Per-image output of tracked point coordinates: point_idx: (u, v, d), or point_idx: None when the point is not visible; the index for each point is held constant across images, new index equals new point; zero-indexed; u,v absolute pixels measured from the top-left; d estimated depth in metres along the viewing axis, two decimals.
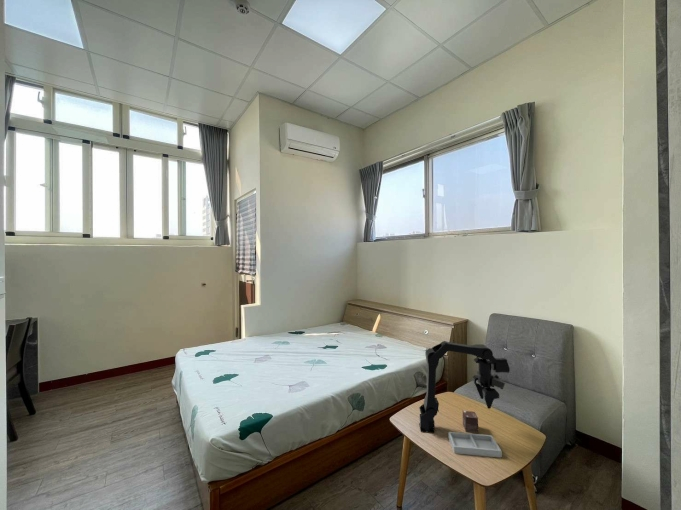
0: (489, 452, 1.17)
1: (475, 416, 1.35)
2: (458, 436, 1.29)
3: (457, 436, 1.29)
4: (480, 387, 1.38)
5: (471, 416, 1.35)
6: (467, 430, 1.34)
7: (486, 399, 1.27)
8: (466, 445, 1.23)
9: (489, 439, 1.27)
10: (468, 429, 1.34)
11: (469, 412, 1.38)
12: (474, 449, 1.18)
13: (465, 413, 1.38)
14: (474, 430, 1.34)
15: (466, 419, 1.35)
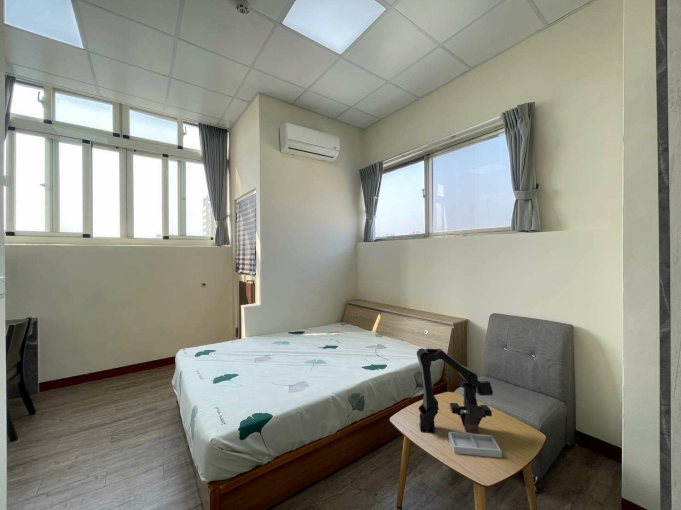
0: (489, 452, 1.17)
1: None
2: (458, 436, 1.29)
3: (457, 436, 1.29)
4: None
5: None
6: (467, 430, 1.34)
7: None
8: (466, 445, 1.23)
9: (489, 439, 1.27)
10: (468, 429, 1.34)
11: None
12: (474, 449, 1.18)
13: (465, 413, 1.38)
14: (475, 430, 1.34)
15: (466, 419, 1.34)
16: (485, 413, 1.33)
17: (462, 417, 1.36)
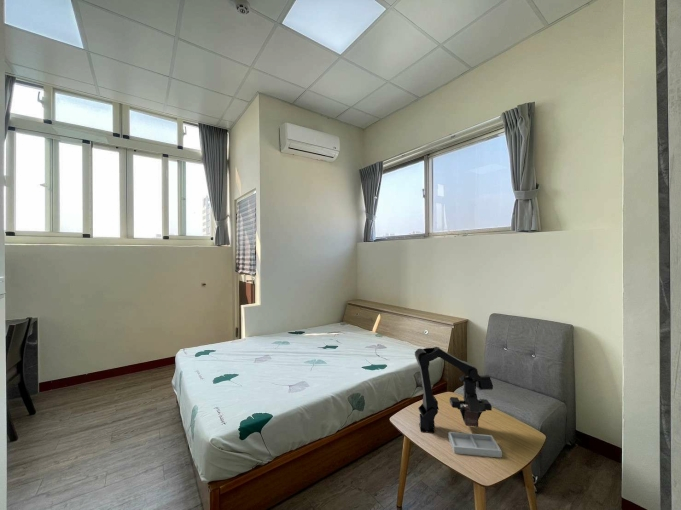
0: (489, 452, 1.17)
1: None
2: (458, 436, 1.29)
3: (457, 436, 1.29)
4: None
5: None
6: (467, 424, 1.34)
7: None
8: (466, 445, 1.23)
9: (489, 439, 1.27)
10: (468, 423, 1.34)
11: None
12: (474, 449, 1.18)
13: (465, 407, 1.38)
14: (474, 424, 1.34)
15: (466, 413, 1.35)
16: (485, 407, 1.33)
17: (462, 411, 1.36)
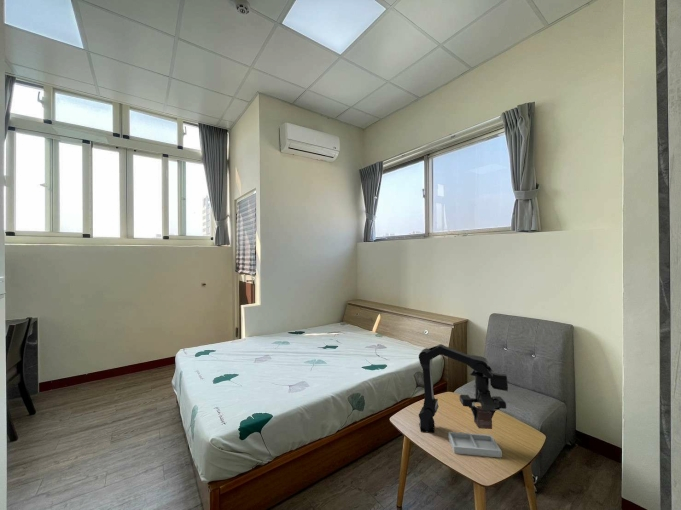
0: (489, 452, 1.17)
1: (488, 411, 1.23)
2: (458, 436, 1.29)
3: (457, 436, 1.29)
4: None
5: (484, 411, 1.23)
6: (480, 427, 1.22)
7: None
8: (466, 445, 1.23)
9: (489, 439, 1.27)
10: (481, 426, 1.22)
11: (480, 407, 1.26)
12: (474, 449, 1.18)
13: (477, 408, 1.25)
14: (488, 426, 1.21)
15: (479, 414, 1.22)
16: (499, 405, 1.21)
17: (474, 410, 1.24)
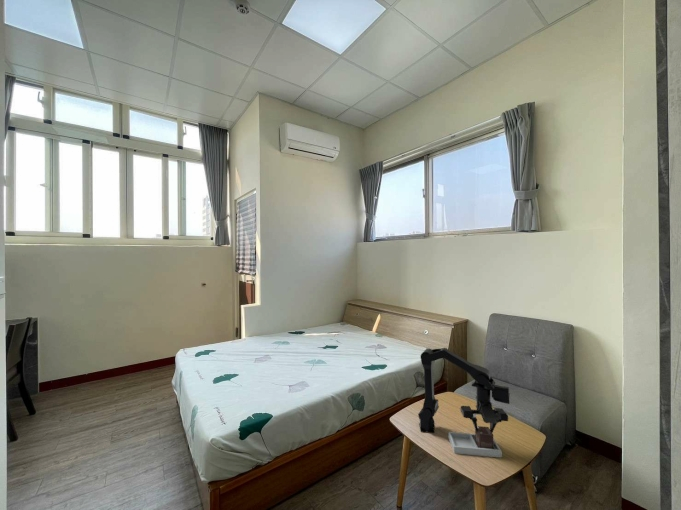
0: (489, 452, 1.17)
1: (490, 432, 1.21)
2: (458, 436, 1.29)
3: (457, 436, 1.29)
4: None
5: (485, 433, 1.21)
6: None
7: None
8: (466, 445, 1.23)
9: None
10: None
11: (482, 428, 1.24)
12: (474, 449, 1.18)
13: (478, 429, 1.23)
14: (490, 448, 1.19)
15: (480, 436, 1.20)
16: (501, 417, 1.19)
17: (475, 422, 1.22)
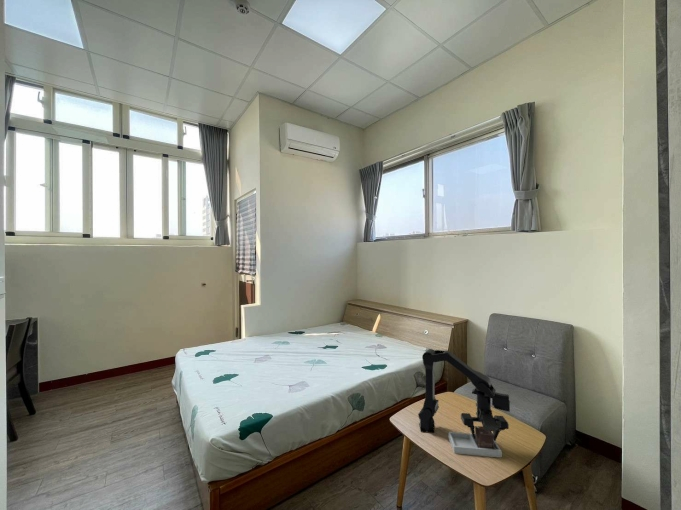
0: (489, 452, 1.17)
1: (490, 432, 1.21)
2: (458, 436, 1.29)
3: (457, 436, 1.29)
4: None
5: (486, 433, 1.21)
6: None
7: None
8: (466, 445, 1.23)
9: None
10: None
11: (482, 428, 1.24)
12: (474, 449, 1.18)
13: (478, 429, 1.23)
14: (490, 448, 1.19)
15: (480, 436, 1.20)
16: (501, 425, 1.19)
17: (472, 429, 1.22)
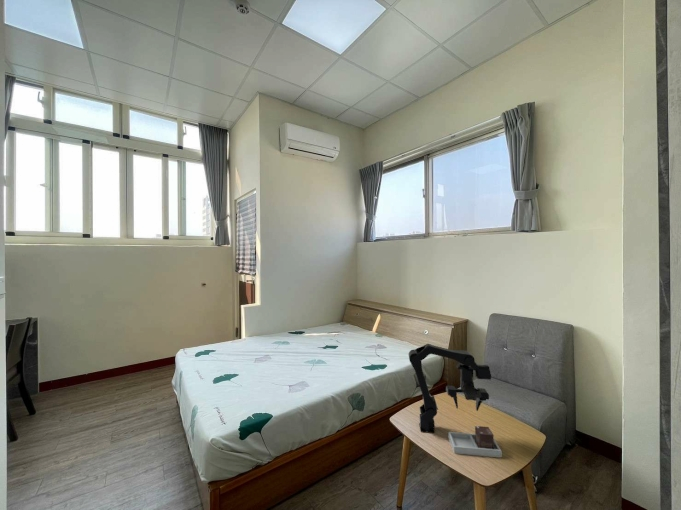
0: (489, 452, 1.17)
1: (490, 432, 1.21)
2: (458, 436, 1.29)
3: (457, 436, 1.29)
4: (477, 398, 1.33)
5: (486, 433, 1.21)
6: None
7: None
8: (466, 445, 1.23)
9: None
10: None
11: (482, 428, 1.24)
12: (474, 449, 1.18)
13: (478, 429, 1.23)
14: (490, 448, 1.19)
15: (480, 436, 1.20)
16: (482, 396, 1.30)
17: (455, 399, 1.33)
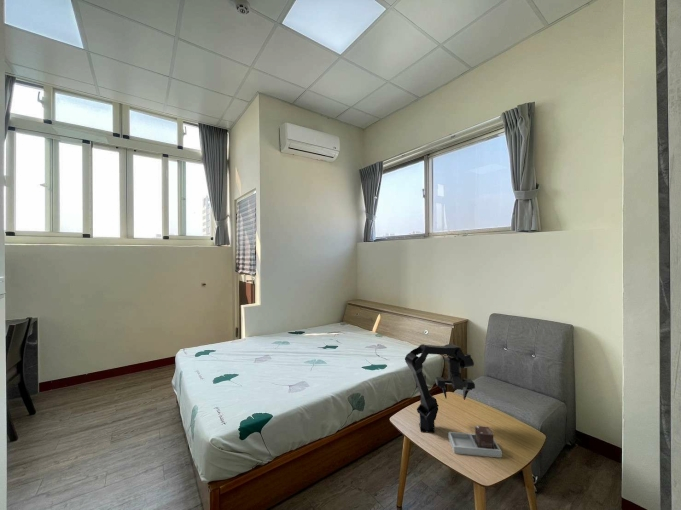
0: (489, 452, 1.17)
1: (490, 432, 1.21)
2: (458, 436, 1.29)
3: (457, 436, 1.29)
4: (464, 388, 1.43)
5: (486, 433, 1.21)
6: None
7: None
8: (466, 445, 1.23)
9: None
10: None
11: (482, 428, 1.24)
12: (474, 449, 1.18)
13: (478, 429, 1.23)
14: (490, 448, 1.19)
15: (480, 436, 1.20)
16: (469, 386, 1.39)
17: (444, 390, 1.42)
